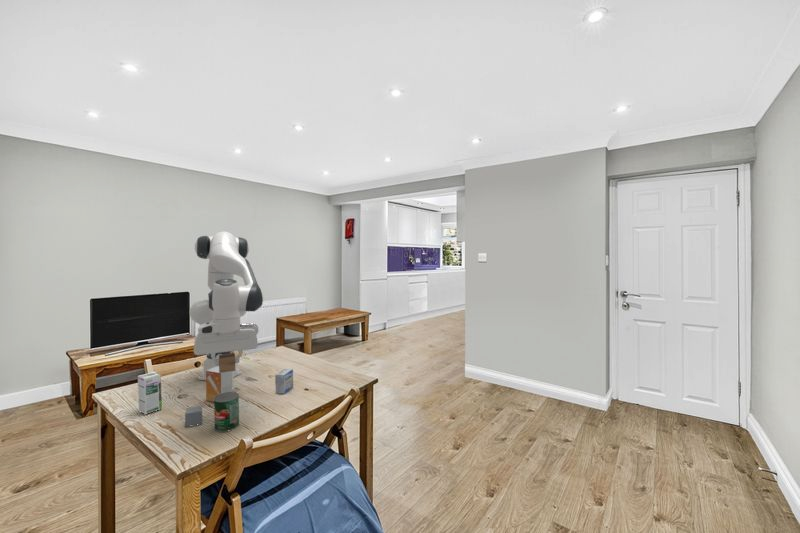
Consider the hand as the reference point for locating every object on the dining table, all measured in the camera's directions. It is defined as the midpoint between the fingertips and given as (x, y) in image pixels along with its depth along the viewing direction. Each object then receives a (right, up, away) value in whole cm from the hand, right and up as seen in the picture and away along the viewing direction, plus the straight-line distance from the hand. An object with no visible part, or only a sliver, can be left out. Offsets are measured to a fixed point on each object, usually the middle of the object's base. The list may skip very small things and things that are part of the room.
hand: (227, 363), depth 123 cm
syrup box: (-36, -22, +12) cm, 44 cm away
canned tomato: (0, -23, +1) cm, 23 cm away
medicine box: (+9, -22, +33) cm, 40 cm away
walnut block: (0, -2, 0) cm, 2 cm away
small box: (-15, -22, +23) cm, 35 cm away
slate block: (-14, -23, +3) cm, 27 cm away
